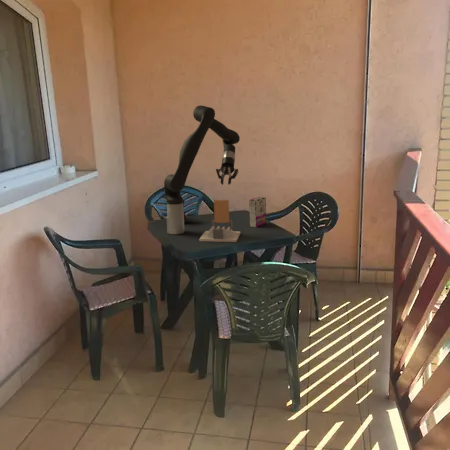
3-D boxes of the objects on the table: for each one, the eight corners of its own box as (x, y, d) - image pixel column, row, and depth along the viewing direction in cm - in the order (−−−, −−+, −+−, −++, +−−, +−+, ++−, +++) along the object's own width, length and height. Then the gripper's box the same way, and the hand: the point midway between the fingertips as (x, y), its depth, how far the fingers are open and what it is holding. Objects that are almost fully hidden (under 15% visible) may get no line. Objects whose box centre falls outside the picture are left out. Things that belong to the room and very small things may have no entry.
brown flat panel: (214, 223, 276) (213, 200, 273) (215, 222, 277) (214, 200, 274) (228, 223, 275) (228, 200, 272) (229, 223, 276) (228, 200, 273)
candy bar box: (259, 222, 302) (259, 196, 298) (266, 223, 299) (266, 197, 295) (249, 226, 293) (248, 199, 289) (256, 227, 290) (256, 200, 286)
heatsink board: (199, 241, 265) (198, 226, 264) (205, 232, 282) (205, 219, 280) (236, 242, 262) (235, 227, 260) (240, 233, 278) (240, 219, 277)
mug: (166, 219, 317) (165, 196, 313) (183, 217, 320) (182, 194, 316) (171, 225, 300) (169, 201, 296) (189, 223, 303) (188, 199, 299)
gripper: (215, 156, 293) (212, 180, 284) (239, 156, 291) (236, 180, 282) (217, 164, 299) (214, 187, 291) (240, 164, 297) (238, 187, 289)
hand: (225, 183), depth 287 cm, fingers open, 3 cm apart
